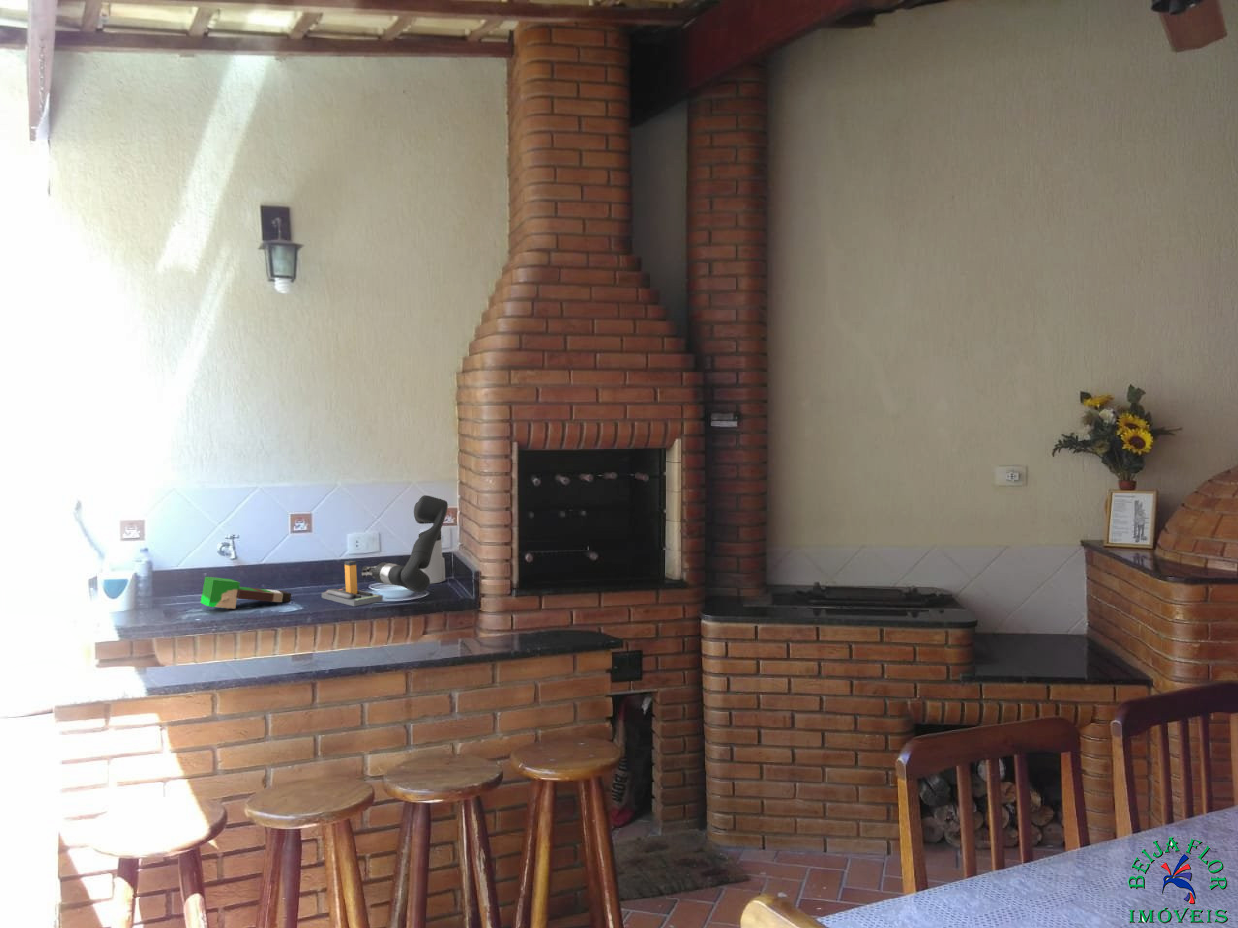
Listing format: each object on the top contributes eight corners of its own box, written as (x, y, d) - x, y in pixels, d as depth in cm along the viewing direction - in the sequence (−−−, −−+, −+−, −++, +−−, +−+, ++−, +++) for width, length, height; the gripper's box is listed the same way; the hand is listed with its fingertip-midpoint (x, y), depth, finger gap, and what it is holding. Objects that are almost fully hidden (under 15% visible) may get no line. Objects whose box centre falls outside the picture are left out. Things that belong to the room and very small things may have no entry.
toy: (276, 611, 410) (197, 604, 391) (281, 583, 410) (202, 575, 392) (291, 617, 398) (210, 610, 379) (296, 588, 398) (215, 580, 380)
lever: (352, 592, 404) (351, 560, 404) (357, 593, 402) (355, 561, 401) (345, 593, 403) (344, 561, 402) (350, 594, 400) (349, 562, 399)
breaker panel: (349, 593, 415) (349, 583, 415) (382, 601, 398) (382, 591, 398) (321, 597, 407) (321, 588, 407) (354, 606, 390) (353, 596, 389)
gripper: (405, 561, 386) (379, 557, 398) (373, 565, 377) (347, 561, 389) (405, 581, 386) (380, 576, 399) (373, 586, 377) (348, 581, 390)
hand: (364, 569), depth 394 cm, fingers closed
